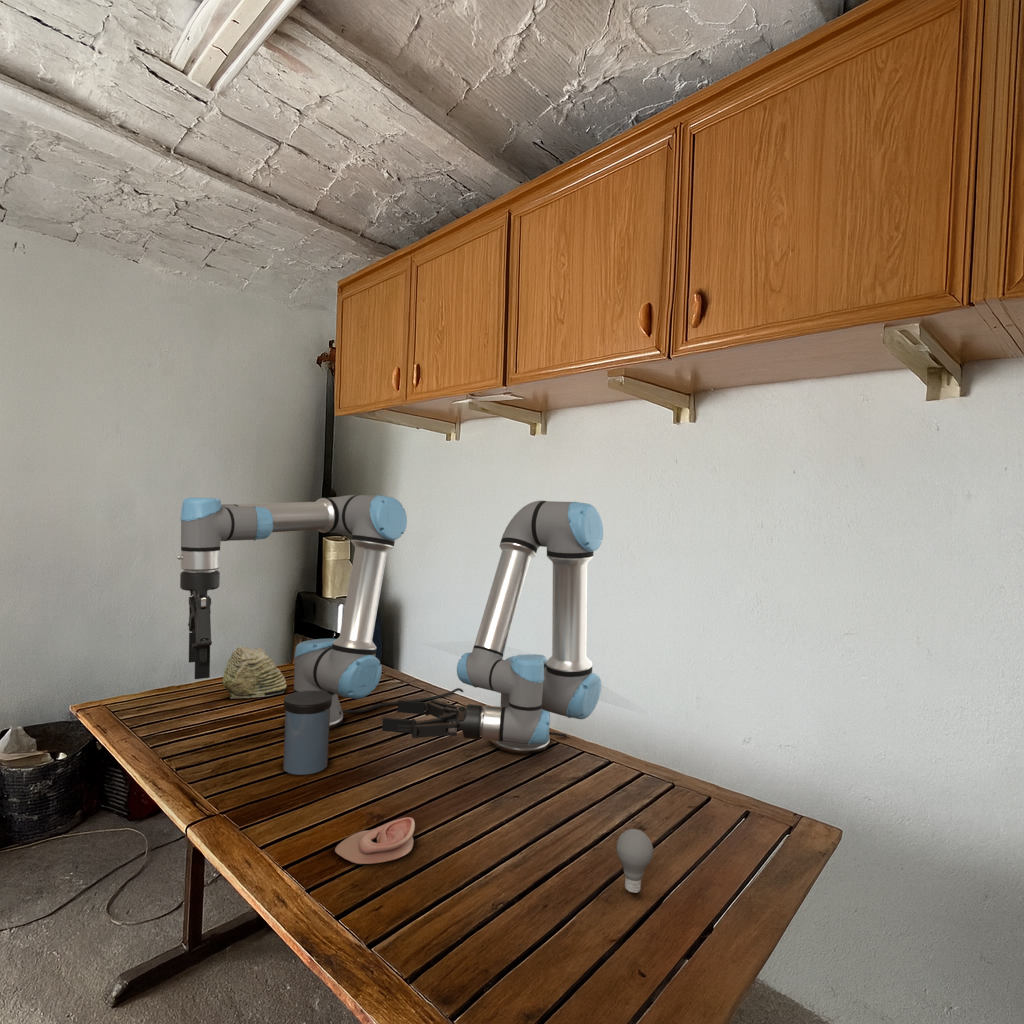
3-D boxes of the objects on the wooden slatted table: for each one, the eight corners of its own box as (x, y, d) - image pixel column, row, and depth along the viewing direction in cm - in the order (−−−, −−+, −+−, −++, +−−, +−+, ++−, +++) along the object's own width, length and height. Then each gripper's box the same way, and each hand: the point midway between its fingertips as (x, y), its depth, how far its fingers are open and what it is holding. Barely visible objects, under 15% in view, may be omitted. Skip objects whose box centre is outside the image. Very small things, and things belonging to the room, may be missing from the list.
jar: (320, 775, 144) (322, 707, 143) (276, 773, 144) (278, 705, 143) (333, 758, 154) (335, 693, 153) (292, 756, 154) (294, 691, 153)
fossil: (218, 695, 195) (220, 647, 195) (278, 685, 208) (279, 640, 207) (228, 703, 189) (230, 653, 188) (289, 692, 201) (290, 645, 201)
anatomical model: (327, 836, 111) (356, 806, 122) (326, 858, 111) (355, 826, 122) (398, 848, 108) (421, 815, 119) (397, 871, 108) (420, 836, 119)
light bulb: (610, 879, 108) (613, 822, 108) (644, 879, 109) (647, 822, 109) (619, 902, 102) (622, 840, 102) (655, 901, 103) (658, 840, 103)
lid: (323, 714, 143) (323, 705, 143) (276, 712, 143) (276, 703, 143) (337, 699, 154) (337, 691, 154) (293, 697, 154) (293, 689, 154)
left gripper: (176, 564, 143) (174, 657, 143) (185, 579, 122) (183, 688, 122) (212, 562, 147) (211, 653, 147) (227, 577, 125) (226, 683, 126)
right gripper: (474, 759, 132) (374, 750, 134) (486, 721, 157) (402, 714, 159) (476, 723, 132) (376, 715, 134) (488, 691, 157) (404, 684, 159)
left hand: (198, 669), depth 135 cm, fingers open, 13 cm apart
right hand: (390, 714), depth 146 cm, fingers open, 13 cm apart
